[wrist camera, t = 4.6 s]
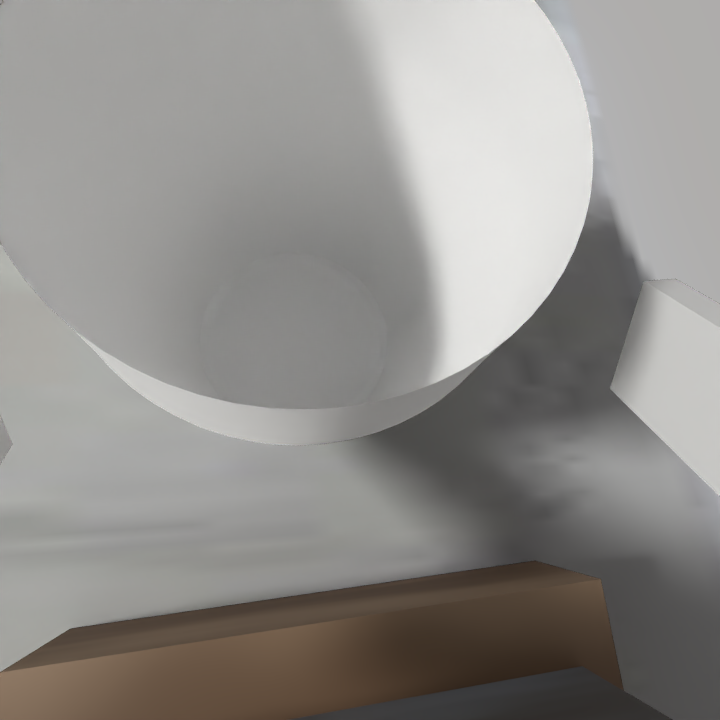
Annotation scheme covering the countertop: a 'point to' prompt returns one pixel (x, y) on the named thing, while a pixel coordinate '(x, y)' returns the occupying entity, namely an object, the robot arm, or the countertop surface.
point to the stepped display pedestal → (347, 657)
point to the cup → (290, 196)
